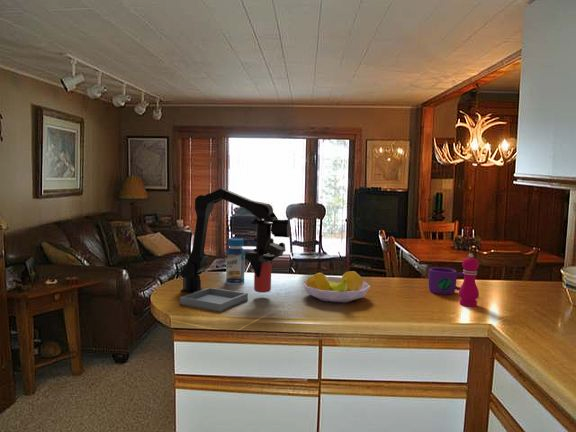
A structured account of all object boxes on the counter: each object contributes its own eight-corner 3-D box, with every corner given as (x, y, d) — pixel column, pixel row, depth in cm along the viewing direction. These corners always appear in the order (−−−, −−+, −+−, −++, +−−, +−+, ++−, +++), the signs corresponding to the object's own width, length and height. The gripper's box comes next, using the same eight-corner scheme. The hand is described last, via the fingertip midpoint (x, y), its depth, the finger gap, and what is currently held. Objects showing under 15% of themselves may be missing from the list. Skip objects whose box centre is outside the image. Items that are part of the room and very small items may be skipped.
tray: (179, 304, 165) (180, 297, 164) (209, 294, 181) (209, 287, 181) (220, 311, 157) (220, 304, 157) (247, 300, 173) (247, 293, 173)
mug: (430, 295, 188) (431, 271, 187) (425, 288, 199) (426, 266, 198) (473, 297, 186) (475, 273, 185) (466, 290, 197) (467, 268, 196)
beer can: (268, 293, 173) (269, 262, 172) (252, 292, 174) (252, 261, 173) (272, 289, 179) (273, 259, 178) (256, 288, 181) (257, 258, 180)
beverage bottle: (248, 283, 202) (249, 239, 200) (233, 286, 195) (234, 240, 194) (236, 280, 207) (237, 237, 206) (221, 282, 201) (222, 238, 200)
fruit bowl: (307, 288, 195) (307, 262, 194) (370, 293, 189) (371, 266, 188) (294, 305, 167) (295, 275, 166) (368, 311, 162) (369, 280, 161)
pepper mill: (477, 303, 176) (480, 252, 175) (478, 308, 170) (481, 255, 168) (457, 301, 179) (460, 251, 177) (458, 305, 172) (461, 254, 171)
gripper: (270, 240, 163) (269, 282, 164) (292, 235, 180) (291, 273, 181) (244, 237, 168) (243, 278, 169) (268, 233, 185) (267, 270, 186)
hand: (262, 275), depth 176 cm, fingers closed on beer can, 7 cm apart
